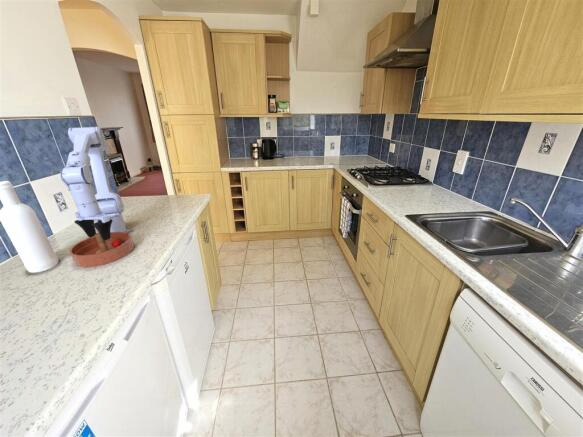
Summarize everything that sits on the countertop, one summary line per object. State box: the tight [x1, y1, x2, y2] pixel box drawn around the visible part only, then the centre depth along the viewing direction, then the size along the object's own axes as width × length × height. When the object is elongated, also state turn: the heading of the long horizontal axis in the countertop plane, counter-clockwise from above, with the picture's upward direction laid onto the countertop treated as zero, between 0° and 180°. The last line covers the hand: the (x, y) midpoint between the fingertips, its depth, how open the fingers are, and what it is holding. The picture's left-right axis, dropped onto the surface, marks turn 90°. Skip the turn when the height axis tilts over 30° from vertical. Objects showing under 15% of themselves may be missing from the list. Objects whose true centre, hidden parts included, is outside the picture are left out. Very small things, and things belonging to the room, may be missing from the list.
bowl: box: [68, 232, 135, 268], centre depth 89 cm, size 18×18×5 cm
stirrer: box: [95, 232, 114, 254], centre depth 89 cm, size 6×6×8 cm
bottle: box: [0, 180, 59, 274], centre depth 78 cm, size 8×8×30 cm
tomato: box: [112, 240, 121, 248], centre depth 94 cm, size 3×3×3 cm
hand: (99, 237), depth 88 cm, fingers open, 7 cm apart
